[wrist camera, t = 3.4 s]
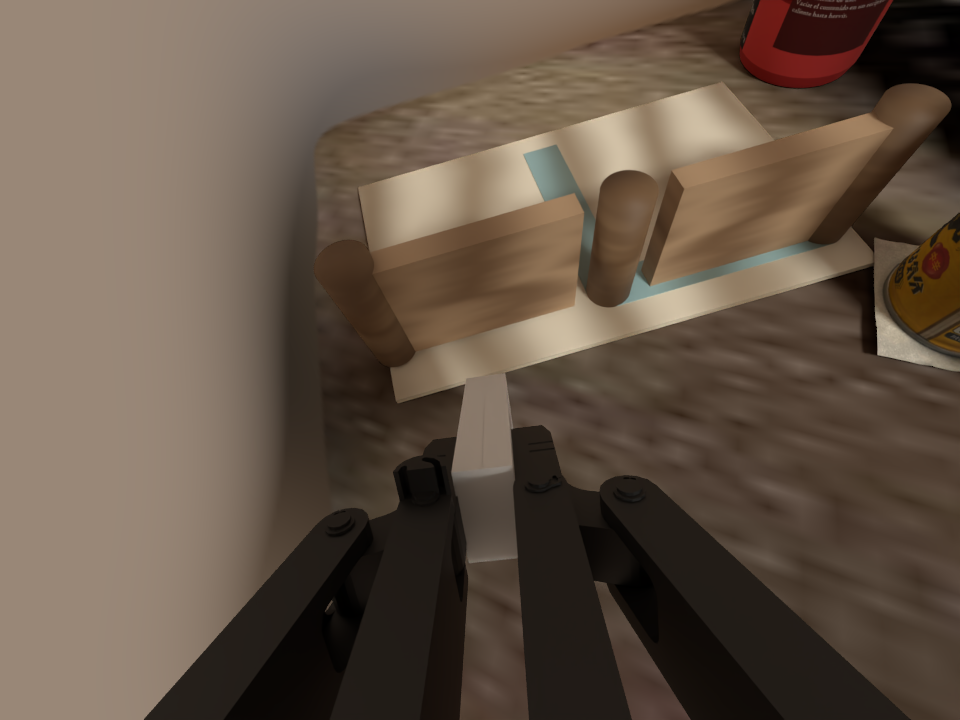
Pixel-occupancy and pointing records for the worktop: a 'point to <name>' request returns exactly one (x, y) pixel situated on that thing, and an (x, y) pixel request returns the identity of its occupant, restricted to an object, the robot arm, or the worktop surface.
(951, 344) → the condiment
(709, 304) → the board
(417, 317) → the fence panel
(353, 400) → the worktop surface
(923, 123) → the fence fixed
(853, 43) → the canned food
